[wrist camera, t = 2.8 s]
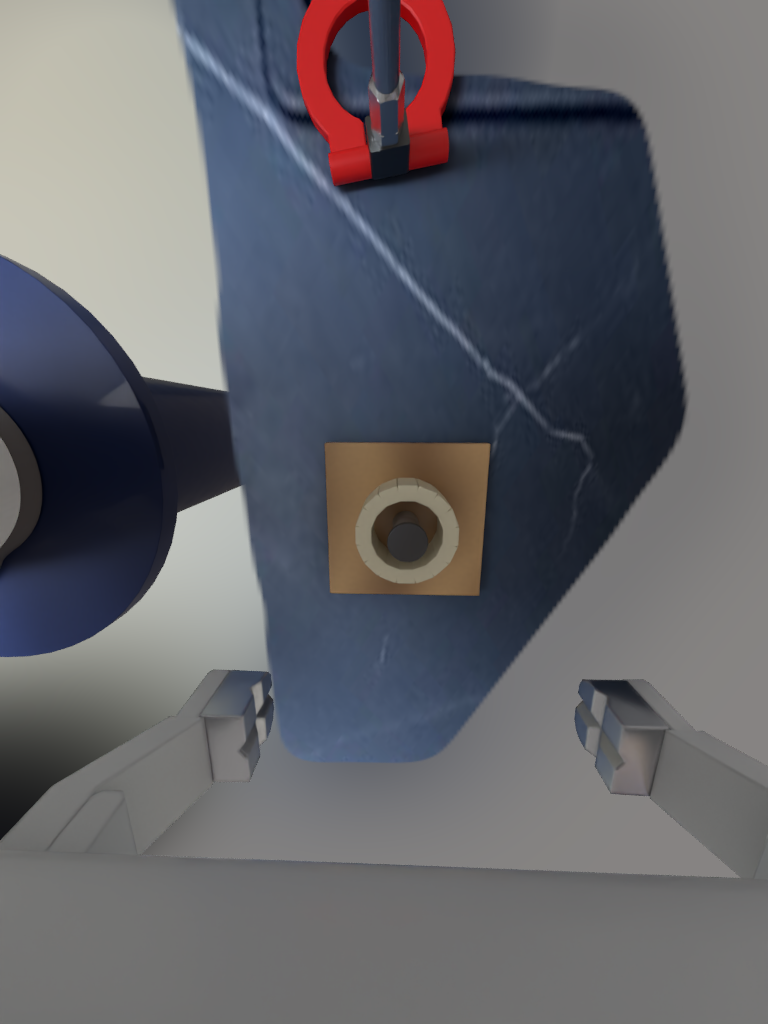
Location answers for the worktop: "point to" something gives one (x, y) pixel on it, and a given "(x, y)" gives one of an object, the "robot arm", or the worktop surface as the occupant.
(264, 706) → the robot arm
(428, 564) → the tape roll
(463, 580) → the peg stand
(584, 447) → the worktop surface
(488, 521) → the worktop surface
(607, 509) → the worktop surface
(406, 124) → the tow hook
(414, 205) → the worktop surface
